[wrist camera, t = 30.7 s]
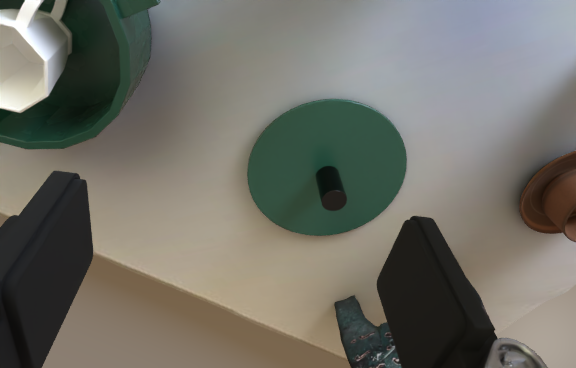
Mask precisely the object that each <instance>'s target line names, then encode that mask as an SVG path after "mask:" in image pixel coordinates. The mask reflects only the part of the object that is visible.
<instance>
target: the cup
mask: <svg viewBox="0 0 576 368" xmlns="http://www.w3.org/2000/svg"><path fill="white" fill-rule="evenodd" d="M43 1H44V0H25V1H24V3H23V5H22V7H21V9H20V10H18V9H3V10H0V108H1V109H5V110H10V111H14V112H18V113H21V112H23V111H25V110H26V109H28V108H30V107H31V106H33V105H34V104H36V103H38V102H39V101H41V100H43V99H44V98H46V97H48V96H49V94H50V92H51V91H52V89H53V87H54V85H55V83H56V82H57V80H58V78H59V77H60V75H61V74H62V72H63V70H64V68H65V65H66V61H67V58H68V55H69V54H71V53H72V33H71V31H70V30H69V29H68V28H67V27H66V25H65V24H64V23H63V22H62V20H61V18H62V16H63V14H64V12H65V9H66V6H67V2H68V0H55V4H54V7H53V10H52V12H51V13H48V12H45V11H41V10H38V8H39V6H40V5H41V3H42V2H43Z"/></svg>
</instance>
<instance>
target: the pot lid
mask: <svg viewBox="0 0 576 368" xmlns="http://www.w3.org/2000/svg"><path fill="white" fill-rule="evenodd" d="M406 161H407V158H406V150H405V147H404V143H403V141H402V138H401V136H400V134H399V132H398V131H397V130H396V128H395V127H394V125H393V124H392V123H391V122H390V121H389V120H388V119H387V118H386V117H385V116H384V115H382V114H381V113H380V112H379V111H377V110H375V109H373V108H371V107H370V106H367V105H364V104H362V103H359V102H355V101H350V100H343V99H324V100H318V101H313V102H309V103H306V104H302V105H300V106H298V107H295V108H293V109H291V110H289V111H287V112H286V113H284V114H282V115H281V116H279V117H278V118H277V119H275V120H274V121H273V122H272V123H271V124H270V125H269V126H268V127H267V128H266V129H265V130H264V131H263V133H262V134H261V135H260V136H259V138H258V140H257V141H256V143H255V145H254V147H253V149H252V152H251V154H250V158H249V162H248V172H247V176H248V185H249V190H250V193H251V195H252V198H253V200H254V202H255V203H256V205H257V207H258V208H259V209H260V210H261V212H262V213H263V214H264V215H265V216H266V217H267V218H268V219H270V220H271V221H272V222H274V223H275V224H277V225H279V226H281V227H283V228H284V229H287V230H290V231H292V232H296V233H300V234H305V235H316V236H323V235H333V234H339V233H343V232H347V231H350V230H353V229H355V228H358V227H360V226H362V225H364V224H366V223H367V222H369V221H371V220H372V219H374V218H375V217H376V216H378V215H379V214H380V213H381V212H382V211H384V210H385V209H386V208H387V207H388V205H389V204H390V203H391V202H392V201H393V199H394V198H395V196H396V195H397V193H398V191H399V189H400V187H401V185H402V183H403V180H404V177H405V172H406Z"/></svg>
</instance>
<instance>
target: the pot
mask: <svg viewBox="0 0 576 368" xmlns="http://www.w3.org/2000/svg"><path fill="white" fill-rule="evenodd" d="M24 1H25V0H0V10H3V9H18V10H20V9H21V7H22V5H23V3H24ZM159 3H160V0H68V2H67V6H66V9H65V12H64V14H63V16H62V18H61V20H62V22H63V23H64V24H65V25H66V27H67V28H68V29H69V30H70V31H71V33H72V53H71V54H69V55H68V58H67V61H66V65H65V68H64V70H63V72H62V74H61V75H60V77H59V78H58V80H57V82H56V83H55V85H54V87H53V89H52V91H51V92H50V94H49V96H48V97H46V98H44V99H43V100H41V101H39V102H38V103H36V104H34V105H33V106H31V107H30V108H28V109H26V110H25V111H23V112H21V113H18V112H14V111H10V110H5V109H1V108H0V142H1V143H5V144H9V145H13V146H17V147H21V148H24V149H64V148H67V147H69V146H72V145H75V144H78V143H80V142H83V141H86V140H89V139H91V138H94V137H96V136H97V135H98V134H99V133H100V132H101V131H102V130H103V129H104V128H105V127H106V126H108V125H109V124H110V123H111V122H112V121H113V120H114V119H115V118H116V117H117V116H118V115H119V113H120V112H121V110H122V109H123V107H124V106H125V104H126V103H127V101H128V100H129V98H130V97H131V95H132V94H133V92H134V91H135V89H136V88H137V86H138V85H139V83H140V81H141V78H142V76H143V74H144V72H145V69H146V67H147V64H148V61H149V59H150V52H151V25H150V20H149V15H148V11H147V9H149V8H151V7H154V6H156V5H158V4H159ZM54 4H55V0H44V1H43V2H42V3H41V5H40V6H39V8H38V10H41V11H45V12H48V13H51V12H52V10H53V7H54Z"/></svg>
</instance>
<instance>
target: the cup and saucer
mask: <svg viewBox="0 0 576 368" xmlns="http://www.w3.org/2000/svg"><path fill="white" fill-rule="evenodd" d="M519 208H520V214H521V217H522V219H523V221H524V222H525V224H526V225H527V226H528V227H529V228H531V229H533V230H535V231H537V232H541V233H549V234H554V233H563V234H564V235H565V236H566V237H567V238H568V239H570V240H571V241H574V242H576V151H574V152H571V153H568V154H566V155H563V156H561V157H559V158H557V159H555V160H553V161H552V162H550V163H549V164H547V165H546V166H544V167H543V168H542V169H541V170H540V171H538V172H537V173H536V174H535V176H534V177H533V178H532V179H531V180H530V181H529V183H528V184H527V186H526V188H525V189H524V191H523V194H522V196H521V199H520V206H519Z"/></svg>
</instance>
